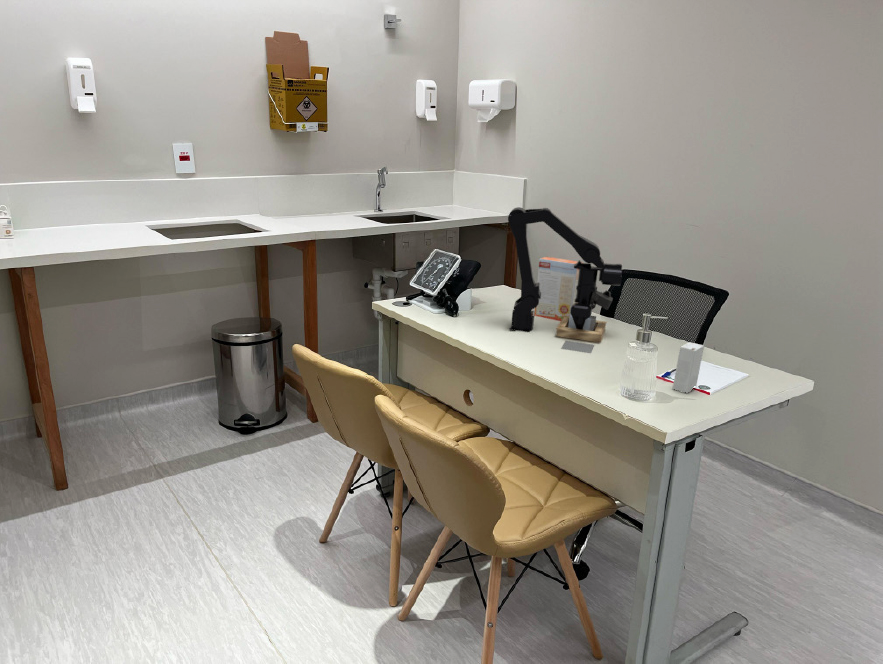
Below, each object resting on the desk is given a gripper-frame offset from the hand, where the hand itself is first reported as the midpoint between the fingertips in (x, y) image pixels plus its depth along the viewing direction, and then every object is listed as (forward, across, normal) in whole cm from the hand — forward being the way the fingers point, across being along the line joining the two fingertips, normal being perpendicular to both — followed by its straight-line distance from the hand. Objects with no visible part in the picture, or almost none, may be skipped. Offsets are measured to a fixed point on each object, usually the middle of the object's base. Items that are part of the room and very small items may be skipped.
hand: (581, 330), depth 223 cm
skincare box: (+2, -36, -32) cm, 48 cm away
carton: (+2, 0, 0) cm, 2 cm away
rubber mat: (+2, -14, -1) cm, 14 cm away
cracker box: (+2, +16, +11) cm, 20 cm away
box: (+1, 0, 0) cm, 1 cm away
